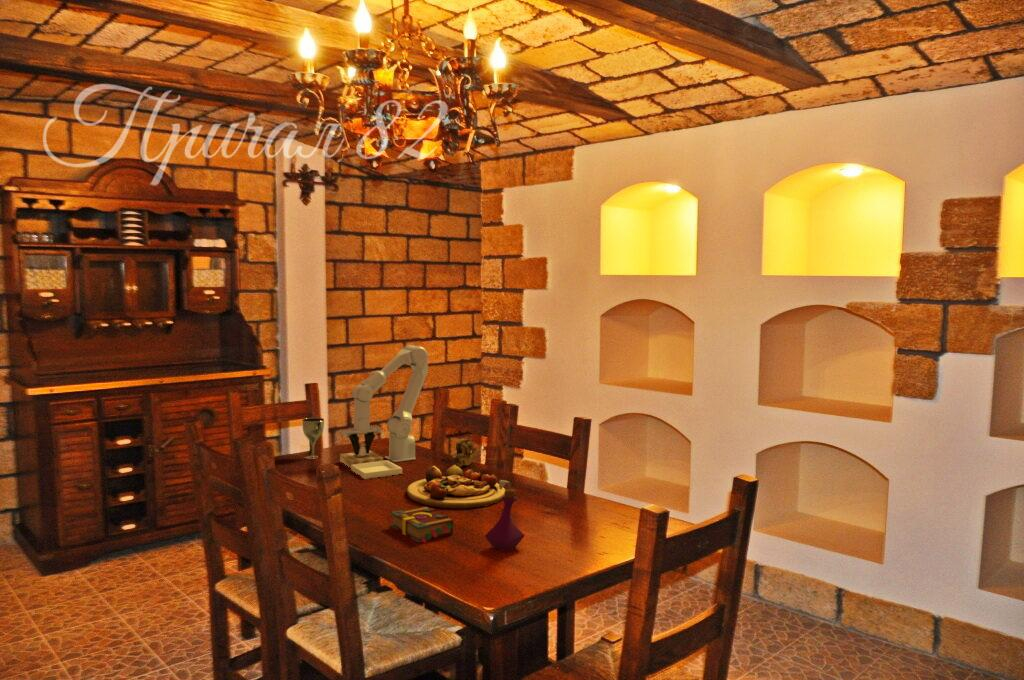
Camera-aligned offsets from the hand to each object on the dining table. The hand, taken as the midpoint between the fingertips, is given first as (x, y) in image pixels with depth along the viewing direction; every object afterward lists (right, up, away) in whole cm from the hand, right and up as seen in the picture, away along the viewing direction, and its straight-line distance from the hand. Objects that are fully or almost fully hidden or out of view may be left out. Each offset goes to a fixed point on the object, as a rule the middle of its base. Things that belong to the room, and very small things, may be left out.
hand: (361, 453), depth 271 cm
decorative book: (+31, -11, -70) cm, 77 cm away
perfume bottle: (+54, -12, -81) cm, 98 cm away
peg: (0, -4, 0) cm, 4 cm away
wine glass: (-20, -3, +6) cm, 21 cm away
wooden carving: (+38, -5, +2) cm, 39 cm away
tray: (+8, -5, -11) cm, 15 cm away
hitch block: (0, -4, 0) cm, 4 cm away
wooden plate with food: (+38, -9, -35) cm, 52 cm away
